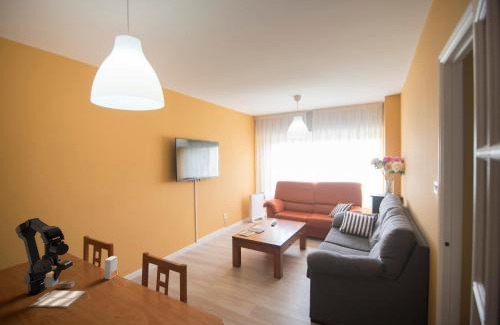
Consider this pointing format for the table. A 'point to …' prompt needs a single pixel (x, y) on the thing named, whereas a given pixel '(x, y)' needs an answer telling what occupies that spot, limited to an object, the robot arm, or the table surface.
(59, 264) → the robot arm
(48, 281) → the lidded cardboard box
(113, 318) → the table surface
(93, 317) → the table surface
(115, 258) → the skincare box
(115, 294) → the table surface
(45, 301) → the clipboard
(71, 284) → the plain pale rectangular box
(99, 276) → the table surface
